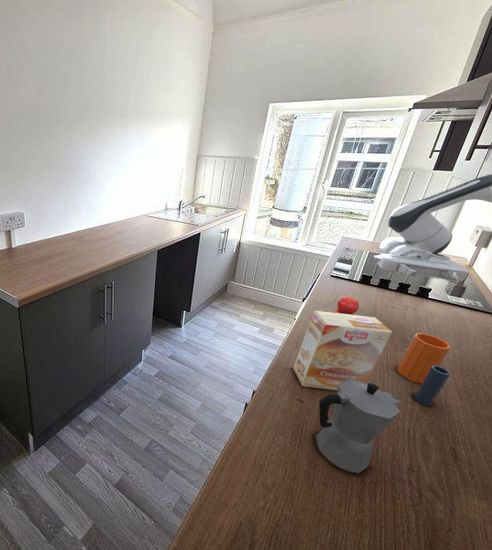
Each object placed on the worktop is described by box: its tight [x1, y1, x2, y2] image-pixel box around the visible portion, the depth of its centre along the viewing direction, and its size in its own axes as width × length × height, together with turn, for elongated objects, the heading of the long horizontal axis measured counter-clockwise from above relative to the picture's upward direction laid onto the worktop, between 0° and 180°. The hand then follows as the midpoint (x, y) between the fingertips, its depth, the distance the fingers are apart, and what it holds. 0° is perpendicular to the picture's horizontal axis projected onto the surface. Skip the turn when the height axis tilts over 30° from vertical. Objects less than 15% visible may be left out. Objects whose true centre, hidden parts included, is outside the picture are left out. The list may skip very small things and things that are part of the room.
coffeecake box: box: [292, 310, 393, 391], centre depth 76 cm, size 15×7×20 cm, turn 82°
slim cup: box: [413, 365, 451, 406], centre depth 74 cm, size 3×3×10 cm
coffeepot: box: [315, 379, 402, 474], centre depth 58 cm, size 15×9×18 cm, turn 93°
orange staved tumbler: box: [397, 332, 451, 385], centre depth 82 cm, size 7×7×12 cm
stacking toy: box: [333, 296, 360, 315], centre depth 90 cm, size 8×8×19 cm
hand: (433, 276), depth 84 cm, fingers open, 8 cm apart
